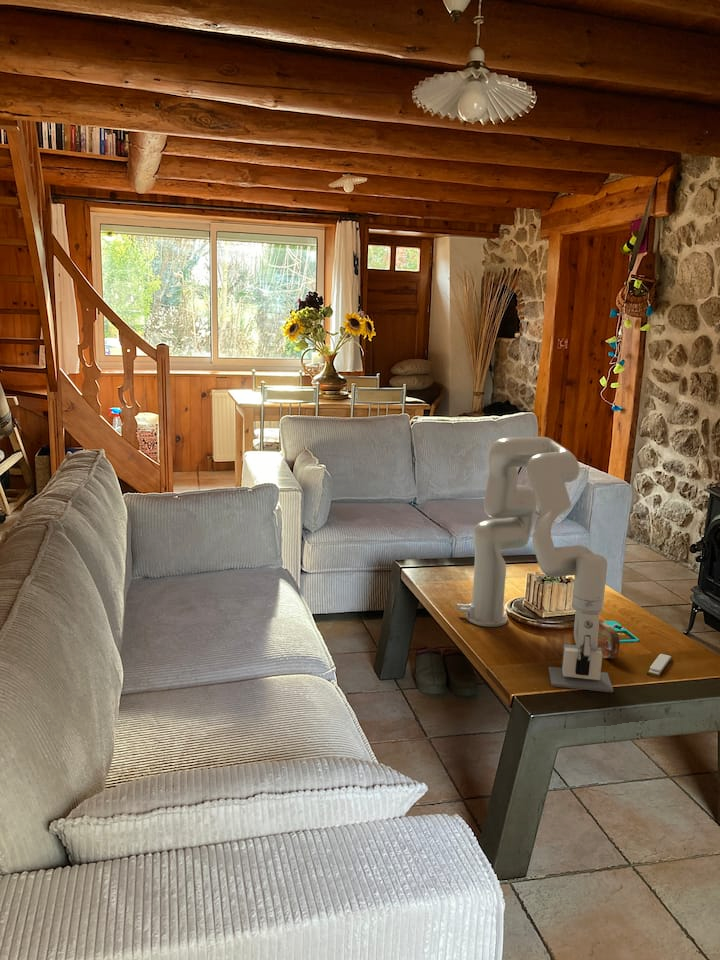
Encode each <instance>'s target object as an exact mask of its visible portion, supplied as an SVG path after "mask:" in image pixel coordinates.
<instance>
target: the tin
mask: <svg viewBox="0 0 720 960" xmlns="http://www.w3.org/2000/svg"><path fill="white" fill-rule="evenodd" d="M604 621H605V620H602V619H600V618H599V628H598V644H597V648H600V649H601V651H602V659H614V658H617V656H618V654H619V650H620V644H621V643H620V639H621V638H620V637H619V636H620V635H619V634H618V633H617V632H616V630H614V629H613V628H612V627H611V626H609V625H608V624H607V623H605V622H604Z"/></svg>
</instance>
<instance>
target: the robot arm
mask: <svg viewBox="0 0 720 960" xmlns="http://www.w3.org/2000/svg"><path fill="white" fill-rule="evenodd" d="M488 454H489V455H488V461H489V462H488V463H489V464H488V465H489V473H488V478H487V483H486V487H485V493H484V501H483V510H484V513H485V514H486V515H487V516H488V517H490V518H492V519H485V520H482V521H480V522H478V523H477V524H476V525H475V526H474V528H473V533H472V538H473V548H474V565H473V567H474V568H473V581H472V583H473V584H472V598H471V601H470V603H467V604H464V603H456V604H457V605H456V610H457V611H458V610H459V611H460V613H466V614H465V619H466V620H467V621H468V622H469V623H471V624H474V625H476V626H480V627H487V628H495V627H501V626H504V625H506V624H507V623H508V616H507V615H506V614H505V613H504V600H505V599H504V598H505V588H506V578H507V577H506V575H507V565H506V564H507V563H506V561H505V559H504V557H503V555H502V554H501V552H503V551H507V550H508V551H509V550H510V551H511V550H518V549H522V548H524V547H526V545H528V543H529V541H530V538H531V535H532V546H533V550H534V555H535V557H536V561H537V564H538V566H539V568H540V570H541V572H542V573H543V574H544V575H546V576H547V577H550V578H558V577H559V578H560V577H567V576H568V577H569V576H574V581H573V589H572V599H571V600H572V601H571V607H572V609H573V610H575V614H574V615H575V616H574V624H573V625H574V627H573V638H574V642H575V645H576V646H577V648H578V649H579V652H578V659H577V662H576V674H577V675H589V667H590V651H591V647H592V650H594V651H597V644H598V628H599V619H600V613H602V612H603V610H604V603H605V602H604V600H605V593H606V592H605V591H606V590H605V589H606V582H607V571H608V561H607V558H605V557H604V556H602V555H600V554H597V553H594V552H593V551H592V550H591V549H589V548H588V547H586V546H584V545H580V544H579V545H578V544H577V545H567V546H566V545H564V546H557V547H555V545H554V542H553V539H552V526H553V525H554V522H555V521H556V520H557V518H558V517H560V516H563V515H565V513H567V512H568V511H569V510H570V509H571V507H572V501H571V498H570V496H569V493H568V489H567V486H566V483H572V482H573V481H576V480H577V478H578V477H579V474H580V464H579V461H578V459H577V458H576V456H575V454H573V453H572V452H571V451H570V450H569V449H567V448H566V447H564V446H562V445H561V444H559V443H558V442H556V441H555V440H554V439H552V438H550V437H546V436H512V437H511V436H510V437H503V438H498V439H497V440H495V441H494V442H493V443H492V444H491V447H490V449H489V453H488ZM523 467H524V468H526V470H527V475H528V478H529V481H530V484H531V487H530V486H528V485H525V484H518V482H519V472H518V469H517V468H523ZM537 508H538V513H539V514H538V518H537V519H536V521H535V523H534V520H535V515H536V509H537ZM493 518H494V519H493ZM533 524H534V527H533ZM532 528H533V529H532ZM532 530H533V532H532ZM531 533H532V534H531ZM581 646H584V648H581ZM581 651H584V652H583V653H582V654H581Z"/></svg>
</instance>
